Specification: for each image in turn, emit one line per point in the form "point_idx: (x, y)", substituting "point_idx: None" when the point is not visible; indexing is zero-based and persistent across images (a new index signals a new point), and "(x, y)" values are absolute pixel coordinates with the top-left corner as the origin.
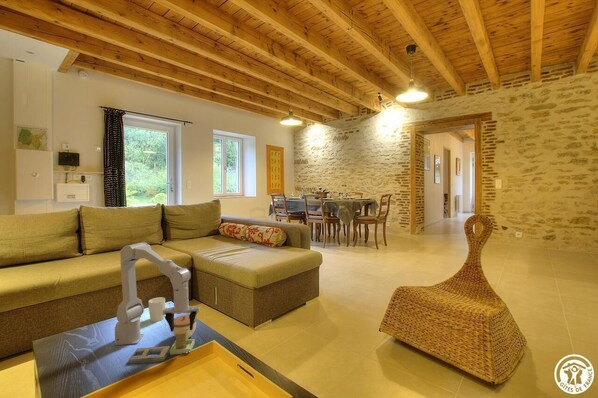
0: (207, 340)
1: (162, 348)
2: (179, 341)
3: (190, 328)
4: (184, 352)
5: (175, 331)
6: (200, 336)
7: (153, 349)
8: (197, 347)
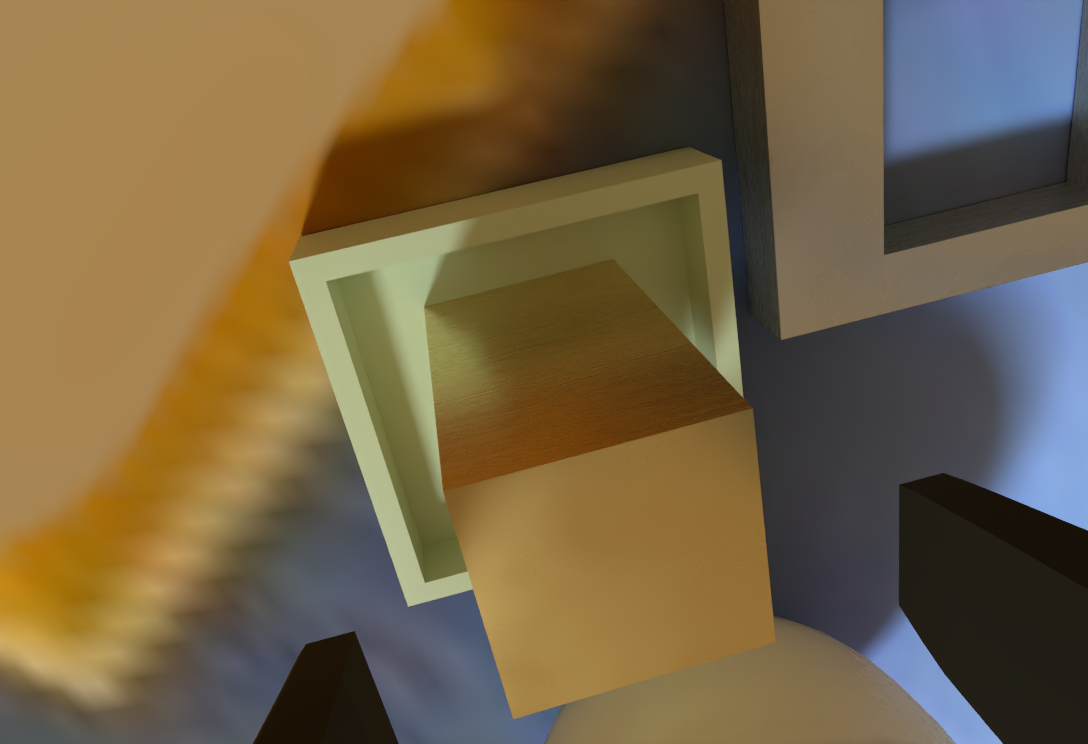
0: (212, 657)
1: (897, 248)
2: (589, 343)
3: (317, 677)
4: (411, 214)
5: (845, 675)
6: (413, 731)
7: (1050, 209)
8: (268, 439)
